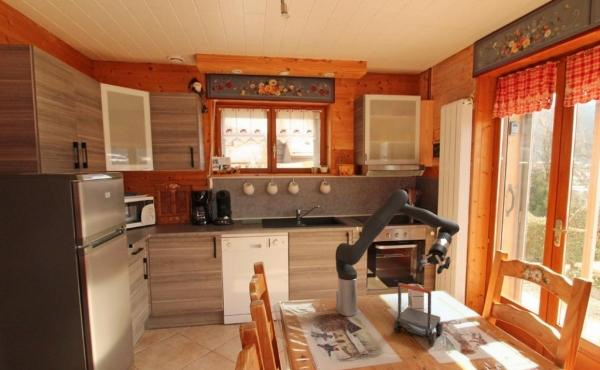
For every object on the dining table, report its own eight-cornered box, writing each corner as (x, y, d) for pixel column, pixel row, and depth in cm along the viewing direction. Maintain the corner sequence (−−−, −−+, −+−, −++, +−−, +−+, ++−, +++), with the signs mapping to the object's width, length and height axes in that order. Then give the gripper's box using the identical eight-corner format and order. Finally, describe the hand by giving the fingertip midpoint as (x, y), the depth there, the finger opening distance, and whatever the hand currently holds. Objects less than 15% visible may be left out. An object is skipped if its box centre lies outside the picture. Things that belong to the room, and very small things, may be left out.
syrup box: (424, 319, 137) (424, 288, 136) (411, 319, 137) (411, 288, 136) (419, 313, 142) (420, 283, 142) (407, 313, 142) (407, 283, 142)
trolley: (393, 333, 124) (393, 283, 123) (407, 320, 136) (407, 274, 135) (431, 347, 114) (432, 293, 113) (443, 331, 126) (443, 282, 125)
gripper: (423, 241, 151) (411, 262, 141) (453, 244, 141) (442, 267, 131) (426, 253, 153) (415, 274, 143) (456, 257, 143) (446, 280, 133)
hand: (428, 271), depth 137 cm, fingers open, 8 cm apart
